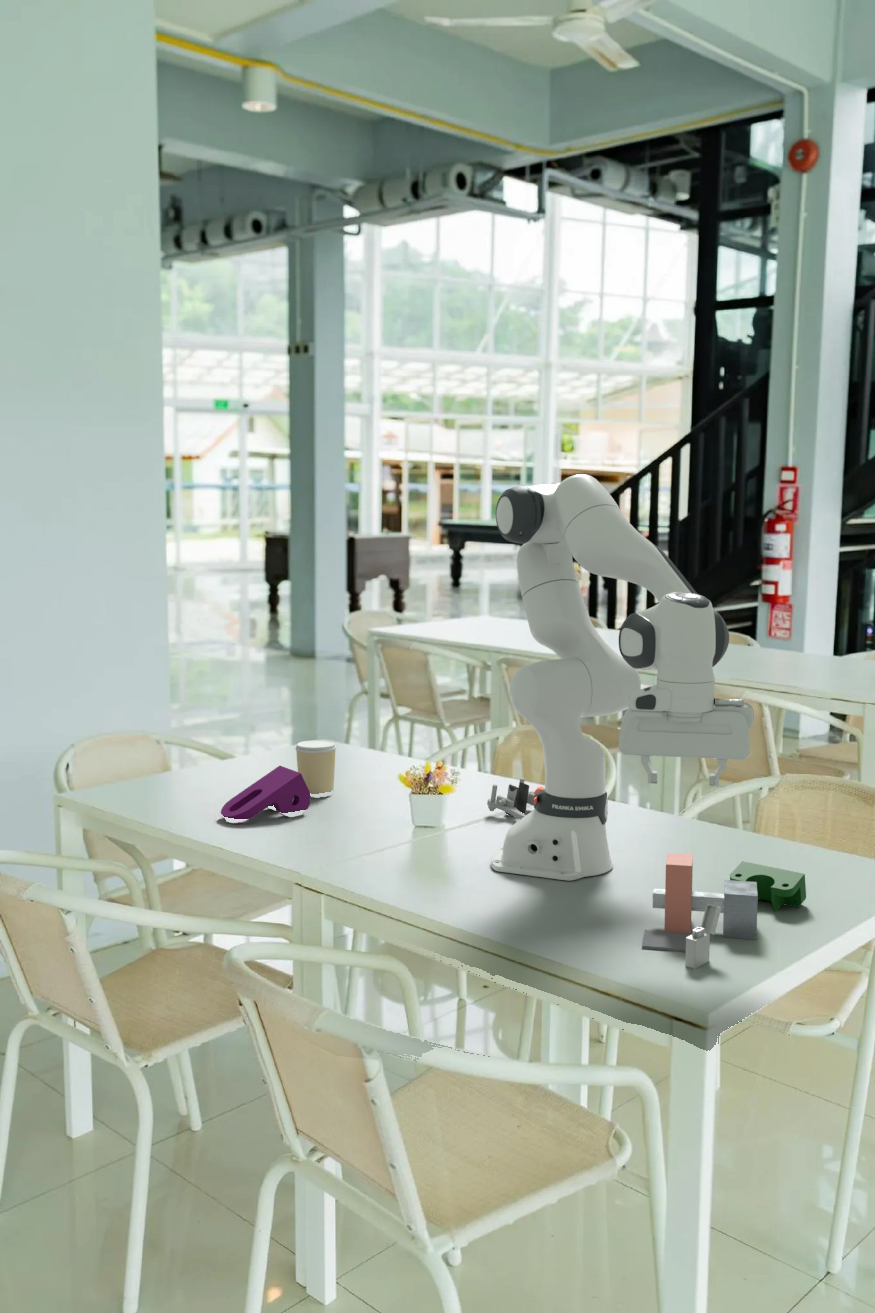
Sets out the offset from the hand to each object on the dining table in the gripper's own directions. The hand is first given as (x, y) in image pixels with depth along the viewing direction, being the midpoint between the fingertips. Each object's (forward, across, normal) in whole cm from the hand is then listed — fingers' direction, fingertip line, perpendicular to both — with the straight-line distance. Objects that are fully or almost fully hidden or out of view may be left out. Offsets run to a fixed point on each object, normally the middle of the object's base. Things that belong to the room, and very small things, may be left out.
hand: (682, 784), depth 187 cm
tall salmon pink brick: (+23, 0, 0) cm, 23 cm away
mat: (+23, +2, +8) cm, 24 cm away
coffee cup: (+24, +85, -71) cm, 113 cm away
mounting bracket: (+24, +90, -50) cm, 105 cm away
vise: (+23, -4, 0) cm, 23 cm away
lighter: (+23, -4, +14) cm, 27 cm away
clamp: (+24, -14, -14) cm, 31 cm away
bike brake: (+24, +32, -60) cm, 72 cm away
